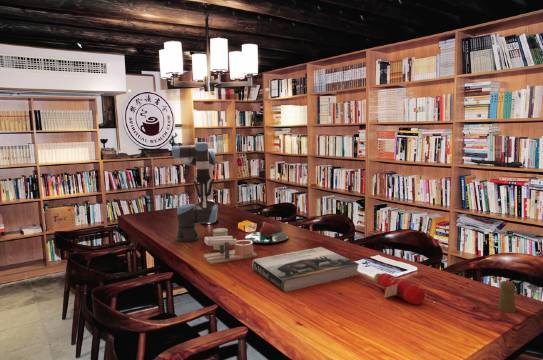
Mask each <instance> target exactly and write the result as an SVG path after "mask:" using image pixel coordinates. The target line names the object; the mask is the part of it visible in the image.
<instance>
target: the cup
mask: <svg viewBox="0 0 543 360" xmlns="http://www.w3.org/2000/svg"><path fill="white" fill-rule="evenodd" d="M233 248H234V249H233V250H234V251H235V254H236V255H250V254H252V253H253V252H254V242H252V241H249V240H247V239H241V240H237V243H236V244H235V245H234V247H233Z"/></svg>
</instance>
